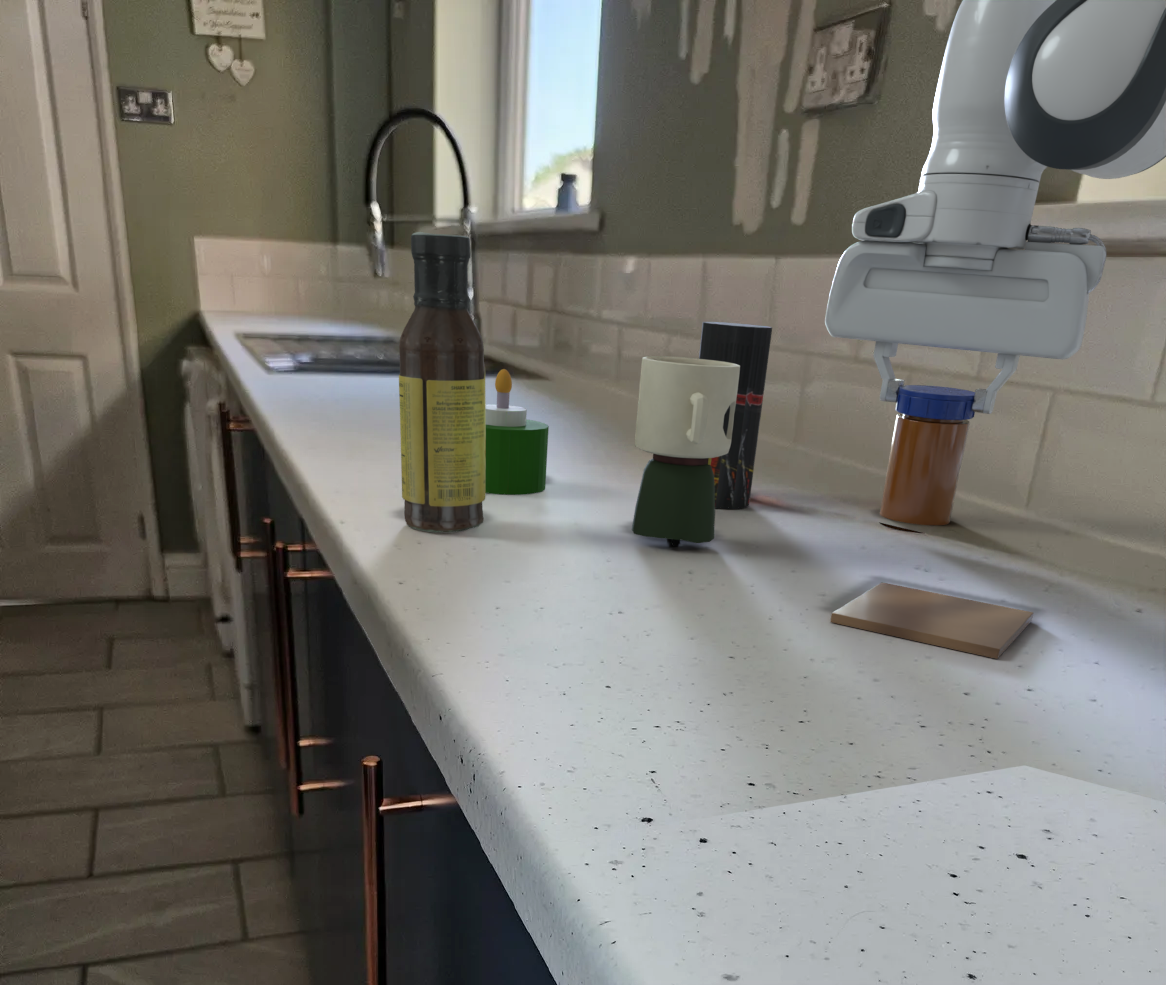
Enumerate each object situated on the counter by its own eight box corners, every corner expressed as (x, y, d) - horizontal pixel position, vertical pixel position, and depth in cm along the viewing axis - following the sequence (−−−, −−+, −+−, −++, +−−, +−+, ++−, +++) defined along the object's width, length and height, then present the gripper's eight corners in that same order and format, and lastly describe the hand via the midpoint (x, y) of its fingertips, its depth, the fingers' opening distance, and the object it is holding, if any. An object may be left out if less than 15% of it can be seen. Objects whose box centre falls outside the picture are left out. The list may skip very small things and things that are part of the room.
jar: (961, 527, 96) (987, 401, 91) (925, 536, 92) (950, 405, 87) (901, 514, 100) (924, 392, 95) (864, 522, 96) (886, 395, 91)
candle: (553, 496, 97) (560, 376, 93) (460, 493, 95) (463, 371, 91) (535, 478, 104) (541, 366, 100) (448, 475, 102) (450, 361, 98)
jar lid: (945, 408, 95) (950, 385, 94) (988, 420, 90) (993, 396, 89) (881, 407, 94) (885, 384, 93) (921, 419, 88) (925, 394, 87)
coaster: (1031, 621, 70) (1034, 612, 70) (997, 659, 62) (999, 649, 62) (879, 590, 74) (881, 581, 74) (829, 622, 67) (831, 612, 66)
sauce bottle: (497, 524, 85) (507, 239, 76) (462, 539, 79) (469, 234, 71) (422, 513, 87) (424, 233, 78) (384, 527, 81) (381, 228, 73)
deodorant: (761, 508, 98) (785, 328, 92) (702, 509, 96) (723, 325, 90) (729, 495, 103) (750, 323, 97) (672, 495, 101) (690, 320, 95)
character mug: (733, 561, 79) (758, 371, 74) (636, 557, 78) (654, 364, 73) (702, 528, 89) (722, 357, 83) (616, 523, 88) (630, 351, 82)
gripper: (1116, 232, 84) (1070, 419, 90) (856, 218, 92) (829, 390, 98) (1109, 226, 79) (1060, 425, 85) (834, 212, 87) (807, 394, 93)
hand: (934, 406), depth 91 cm, fingers closed on jar lid, 6 cm apart
